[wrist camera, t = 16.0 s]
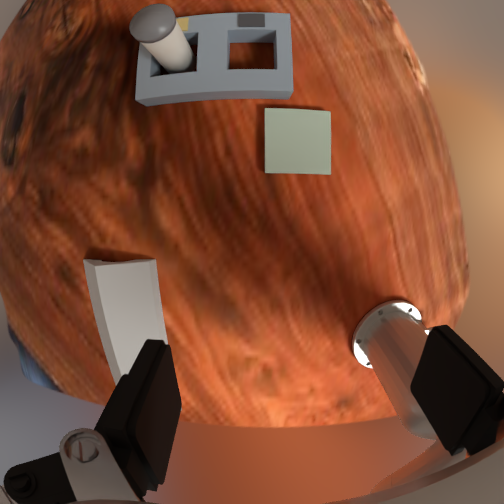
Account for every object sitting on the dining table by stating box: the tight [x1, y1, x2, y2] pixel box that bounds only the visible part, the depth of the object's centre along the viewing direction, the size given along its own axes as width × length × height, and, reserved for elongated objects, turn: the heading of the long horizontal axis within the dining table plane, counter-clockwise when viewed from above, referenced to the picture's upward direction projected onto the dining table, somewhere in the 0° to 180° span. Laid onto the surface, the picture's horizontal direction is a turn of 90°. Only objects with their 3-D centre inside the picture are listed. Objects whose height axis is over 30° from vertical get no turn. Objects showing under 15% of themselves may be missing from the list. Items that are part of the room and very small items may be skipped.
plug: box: [129, 4, 197, 74], centre depth 24 cm, size 4×4×13 cm
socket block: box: [135, 12, 293, 106], centre depth 28 cm, size 18×11×4 cm, turn 90°
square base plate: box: [264, 108, 331, 175], centre depth 33 cm, size 8×8×1 cm
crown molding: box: [83, 259, 182, 410], centre depth 40 cm, size 29×12×4 cm, turn 1°
